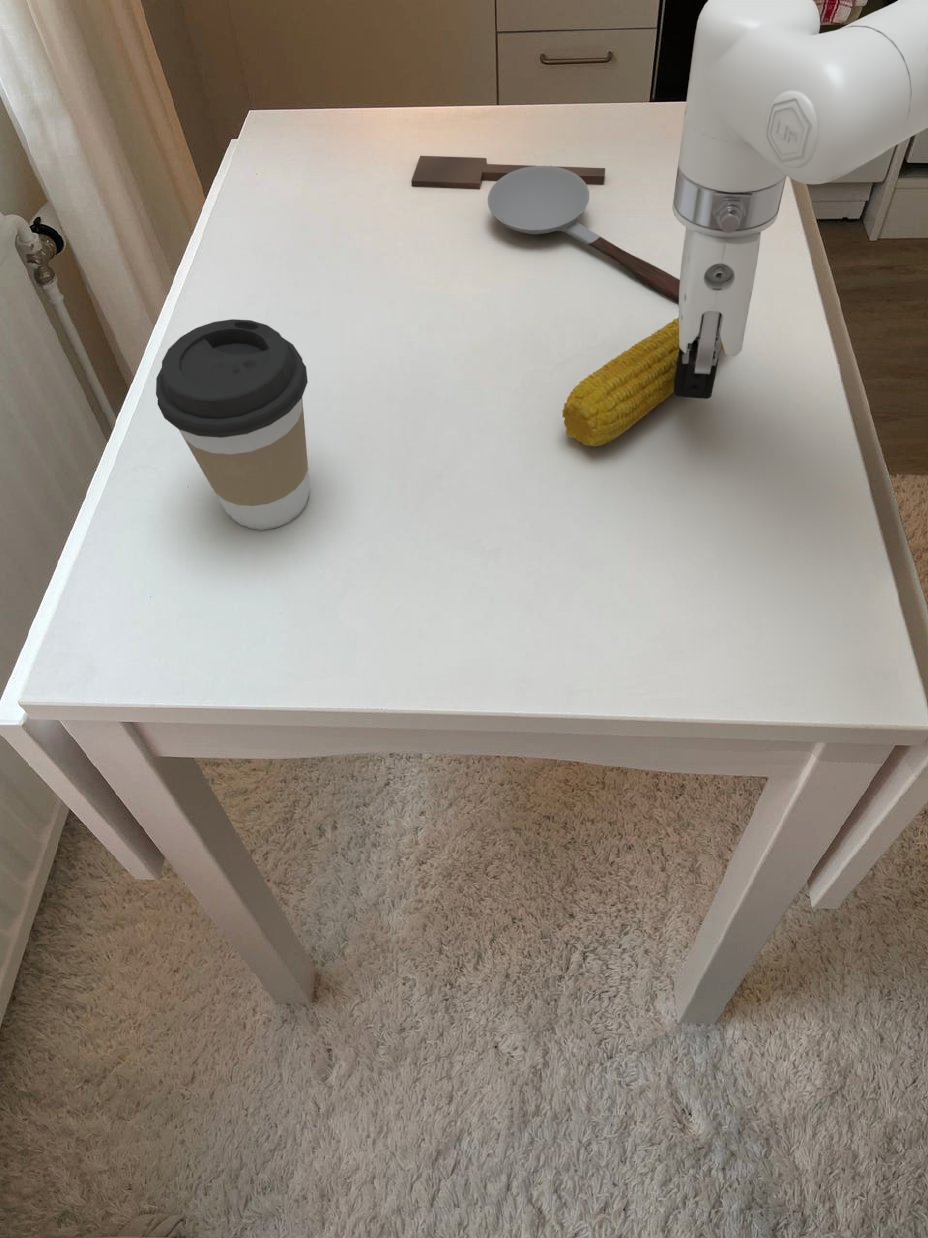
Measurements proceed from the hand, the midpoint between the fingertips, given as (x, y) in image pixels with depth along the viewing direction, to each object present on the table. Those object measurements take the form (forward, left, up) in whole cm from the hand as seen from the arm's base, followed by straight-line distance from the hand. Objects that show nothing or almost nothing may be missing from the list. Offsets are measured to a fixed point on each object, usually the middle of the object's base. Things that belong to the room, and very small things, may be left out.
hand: (692, 391), depth 83 cm
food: (+4, -3, -3) cm, 6 cm away
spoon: (+8, -23, -3) cm, 25 cm away
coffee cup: (+35, +14, -3) cm, 38 cm away
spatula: (+21, -39, -3) cm, 45 cm away
